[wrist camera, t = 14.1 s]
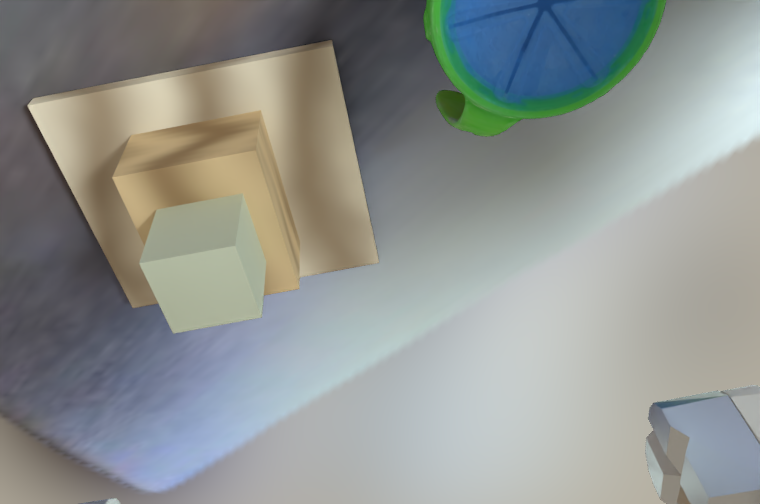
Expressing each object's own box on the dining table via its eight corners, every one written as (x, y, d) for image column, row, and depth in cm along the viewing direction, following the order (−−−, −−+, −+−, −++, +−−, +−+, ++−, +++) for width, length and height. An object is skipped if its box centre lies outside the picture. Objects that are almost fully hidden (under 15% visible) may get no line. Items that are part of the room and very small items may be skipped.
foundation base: (332, 39, 40) (335, 80, 35) (377, 254, 50) (385, 309, 45) (32, 98, 41) (-5, 146, 36) (135, 299, 50) (117, 358, 45)
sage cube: (242, 193, 39) (235, 245, 35) (266, 262, 42) (261, 317, 38) (156, 209, 39) (139, 263, 35) (186, 276, 42) (173, 333, 38)
